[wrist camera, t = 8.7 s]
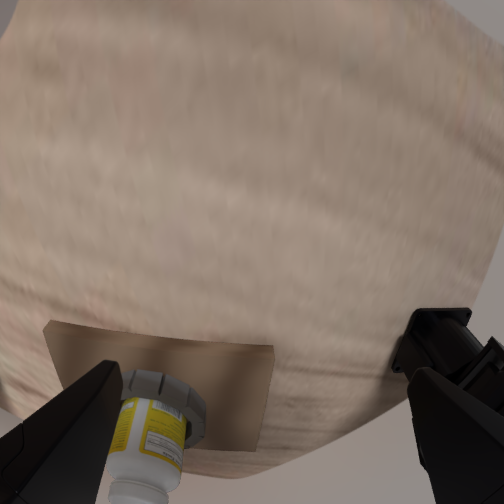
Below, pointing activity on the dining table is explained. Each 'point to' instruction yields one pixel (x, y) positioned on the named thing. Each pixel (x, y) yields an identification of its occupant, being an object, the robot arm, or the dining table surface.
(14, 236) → the dining table surface
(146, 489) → the supplement bottle
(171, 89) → the dining table surface
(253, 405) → the socket board
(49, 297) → the dining table surface
